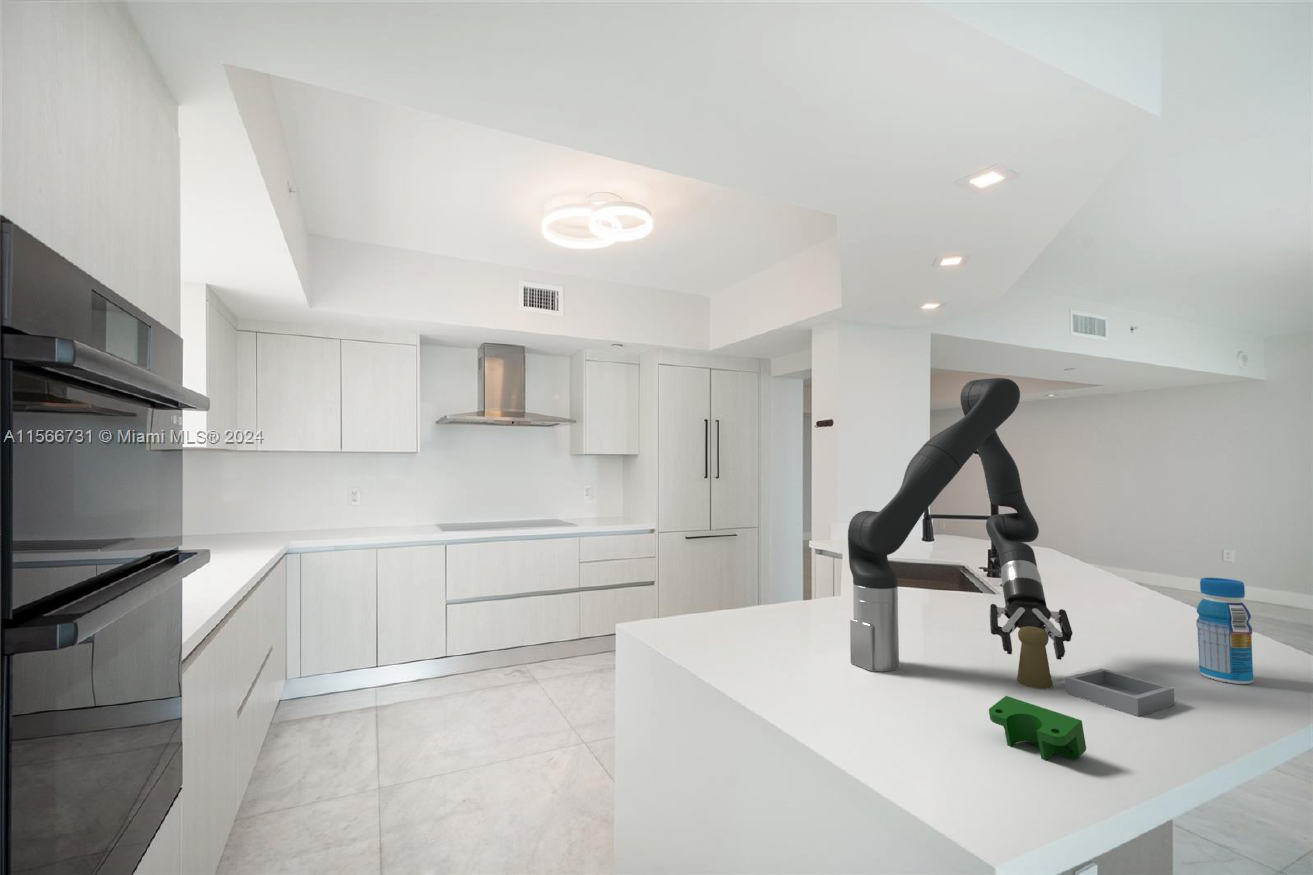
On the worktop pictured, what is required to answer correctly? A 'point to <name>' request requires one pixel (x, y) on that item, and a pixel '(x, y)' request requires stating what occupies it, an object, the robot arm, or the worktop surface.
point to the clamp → (1039, 728)
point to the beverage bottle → (1224, 632)
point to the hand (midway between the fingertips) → (1034, 655)
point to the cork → (1033, 658)
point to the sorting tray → (1120, 691)
